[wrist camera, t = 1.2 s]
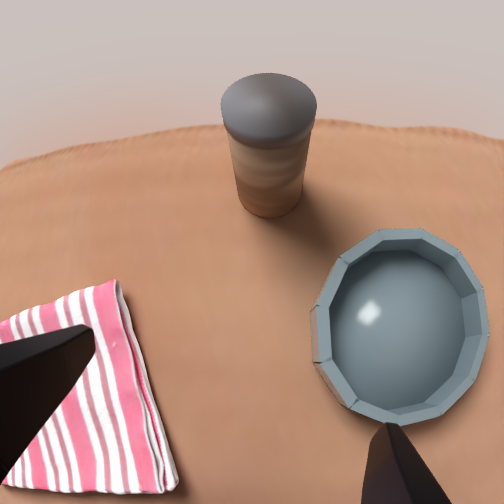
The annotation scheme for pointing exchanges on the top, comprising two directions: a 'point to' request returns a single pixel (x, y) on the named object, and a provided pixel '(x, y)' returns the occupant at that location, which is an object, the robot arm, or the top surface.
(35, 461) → the dish towel
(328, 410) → the top surface
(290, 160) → the walnut jar
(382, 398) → the bowl
